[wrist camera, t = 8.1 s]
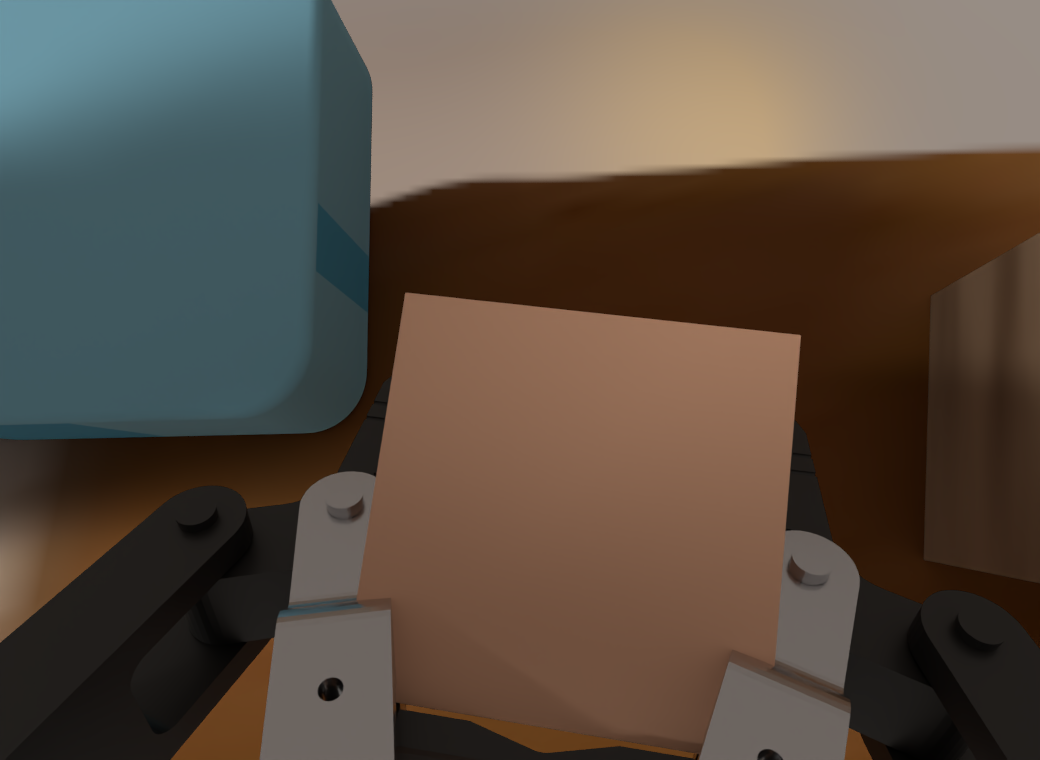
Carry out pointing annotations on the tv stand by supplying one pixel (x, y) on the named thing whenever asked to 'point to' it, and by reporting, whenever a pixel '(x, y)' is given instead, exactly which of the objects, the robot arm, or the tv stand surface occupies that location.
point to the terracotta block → (580, 514)
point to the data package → (181, 218)
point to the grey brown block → (986, 419)
